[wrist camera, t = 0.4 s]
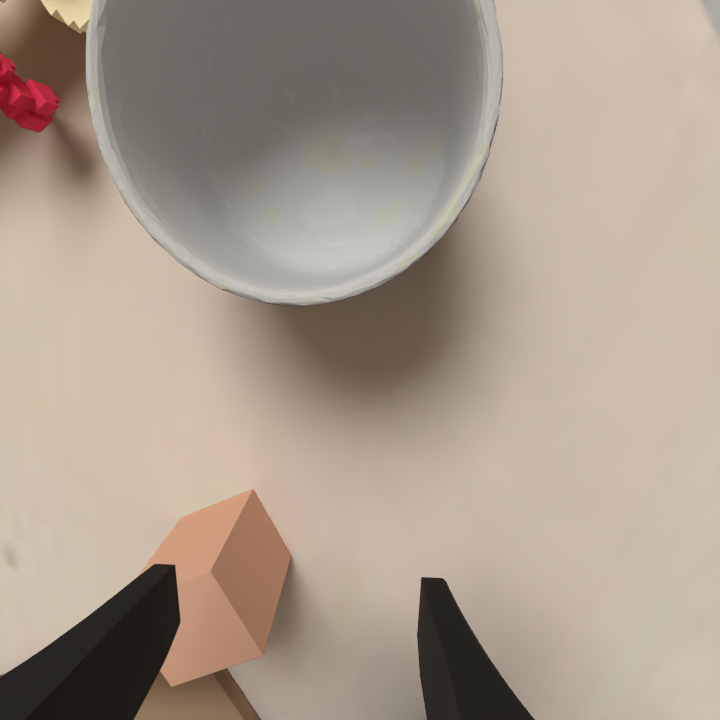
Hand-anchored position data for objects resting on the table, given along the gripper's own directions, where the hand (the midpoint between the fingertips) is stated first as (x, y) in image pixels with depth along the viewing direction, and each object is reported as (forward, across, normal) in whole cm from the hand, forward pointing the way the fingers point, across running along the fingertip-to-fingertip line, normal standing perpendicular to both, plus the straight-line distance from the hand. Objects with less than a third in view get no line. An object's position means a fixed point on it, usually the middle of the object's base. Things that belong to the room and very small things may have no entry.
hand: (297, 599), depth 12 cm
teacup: (+10, 0, -15) cm, 18 cm away
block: (+10, +5, +6) cm, 12 cm away
